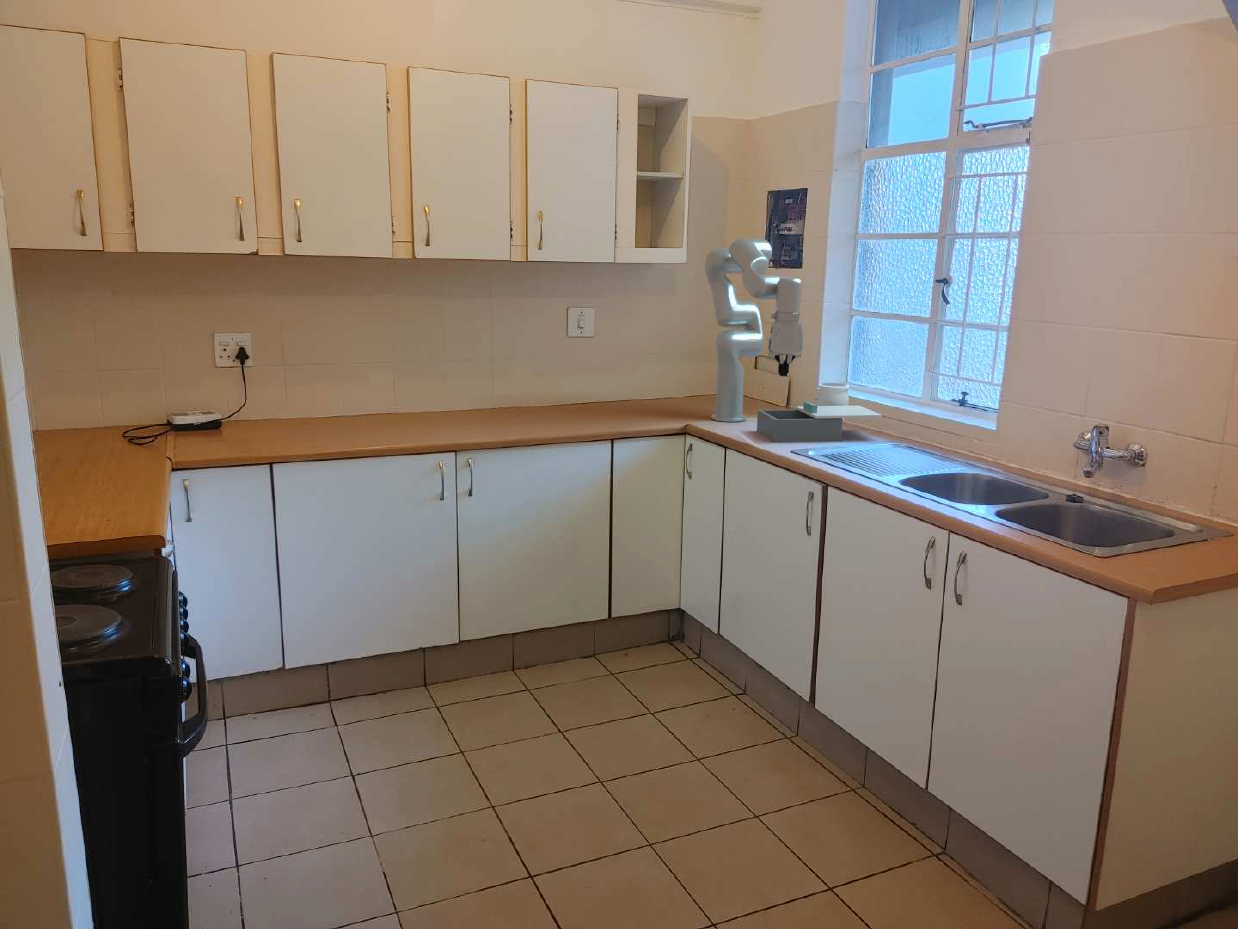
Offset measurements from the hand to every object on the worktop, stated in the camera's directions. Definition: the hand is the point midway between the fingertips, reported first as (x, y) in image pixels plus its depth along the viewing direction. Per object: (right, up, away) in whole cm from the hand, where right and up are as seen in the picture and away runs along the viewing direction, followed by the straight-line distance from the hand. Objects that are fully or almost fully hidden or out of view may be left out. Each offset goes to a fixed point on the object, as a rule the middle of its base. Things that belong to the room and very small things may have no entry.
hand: (783, 375), depth 292 cm
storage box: (+5, -20, +3) cm, 21 cm away
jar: (+20, -16, +23) cm, 34 cm away
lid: (+18, -12, +3) cm, 22 cm away
